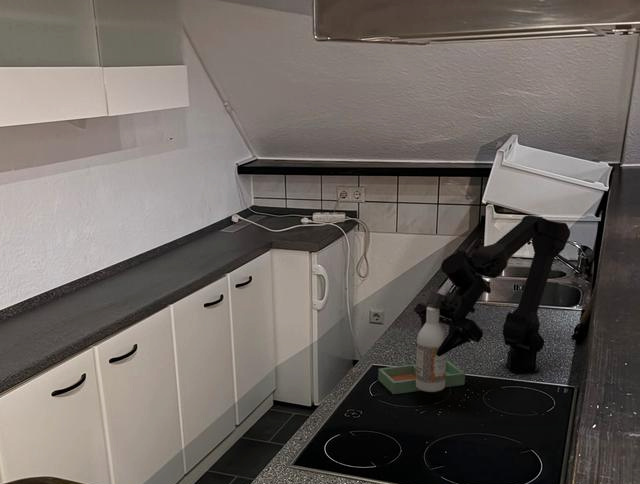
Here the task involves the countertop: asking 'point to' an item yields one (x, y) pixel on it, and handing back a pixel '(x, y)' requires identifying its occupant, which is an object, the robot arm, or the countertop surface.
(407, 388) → the tray
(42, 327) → the countertop surface
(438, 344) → the bath foam
